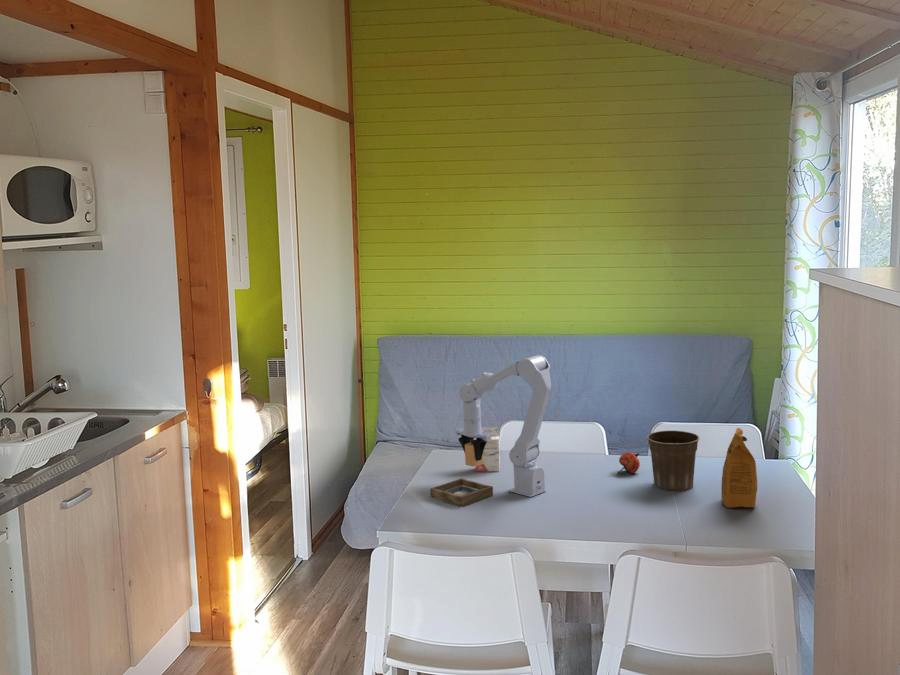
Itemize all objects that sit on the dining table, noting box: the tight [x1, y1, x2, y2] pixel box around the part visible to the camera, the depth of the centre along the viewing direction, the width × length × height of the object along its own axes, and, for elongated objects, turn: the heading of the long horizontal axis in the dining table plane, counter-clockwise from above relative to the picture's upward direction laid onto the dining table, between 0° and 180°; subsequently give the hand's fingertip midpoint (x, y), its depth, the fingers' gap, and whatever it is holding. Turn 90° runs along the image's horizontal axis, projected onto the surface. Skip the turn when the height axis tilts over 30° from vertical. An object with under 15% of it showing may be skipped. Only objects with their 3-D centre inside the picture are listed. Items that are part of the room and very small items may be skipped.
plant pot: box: [646, 430, 700, 492], centre depth 272 cm, size 16×16×16 cm
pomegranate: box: [617, 452, 641, 474], centre depth 288 cm, size 7×7×10 cm
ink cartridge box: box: [474, 427, 501, 472], centre depth 298 cm, size 9×5×15 cm, turn 84°
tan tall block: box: [464, 439, 482, 468], centre depth 283 cm, size 4×4×8 cm
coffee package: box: [720, 427, 758, 509], centre depth 252 cm, size 10×12×22 cm
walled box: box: [429, 478, 494, 508], centre depth 270 cm, size 14×14×3 cm
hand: (473, 459), depth 283 cm, fingers closed on tan tall block, 4 cm apart
